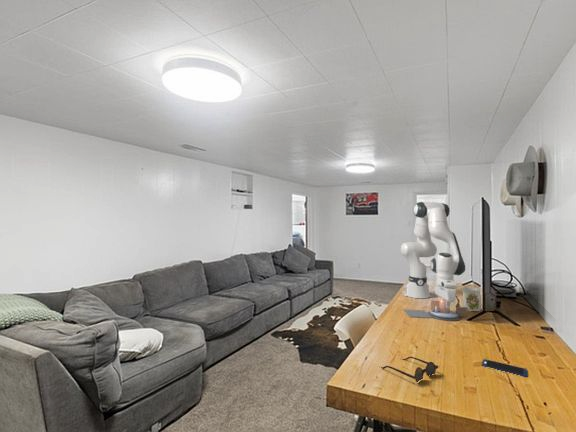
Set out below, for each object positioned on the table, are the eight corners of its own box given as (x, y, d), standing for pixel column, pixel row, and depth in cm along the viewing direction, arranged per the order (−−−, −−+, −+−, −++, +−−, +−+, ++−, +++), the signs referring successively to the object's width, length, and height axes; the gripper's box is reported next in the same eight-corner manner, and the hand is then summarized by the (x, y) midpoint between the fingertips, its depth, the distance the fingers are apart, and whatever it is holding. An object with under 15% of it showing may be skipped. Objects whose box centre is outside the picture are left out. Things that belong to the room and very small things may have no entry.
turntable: (435, 317, 177) (436, 308, 177) (426, 310, 191) (426, 302, 191) (472, 319, 175) (472, 310, 175) (460, 312, 189) (461, 303, 189)
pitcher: (492, 315, 187) (493, 292, 187) (457, 310, 196) (458, 288, 196) (491, 311, 196) (491, 288, 196) (458, 306, 205) (458, 285, 205)
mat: (403, 310, 194) (403, 309, 194) (423, 311, 193) (423, 310, 193) (410, 317, 180) (410, 316, 180) (432, 318, 179) (432, 317, 179)
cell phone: (483, 360, 127) (483, 358, 127) (527, 371, 118) (527, 369, 118) (481, 367, 121) (481, 365, 121) (527, 378, 112) (527, 376, 112)
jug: (428, 309, 187) (428, 296, 187) (448, 310, 186) (449, 297, 186) (432, 312, 181) (432, 298, 181) (453, 313, 180) (453, 299, 180)
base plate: (423, 311, 192) (423, 310, 192) (452, 312, 191) (452, 311, 191) (433, 320, 175) (433, 319, 175) (466, 321, 174) (466, 320, 174)
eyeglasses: (414, 386, 105) (414, 371, 105) (377, 368, 117) (377, 355, 117) (438, 374, 114) (438, 360, 114) (401, 359, 126) (401, 346, 126)
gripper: (432, 278, 194) (431, 301, 194) (446, 285, 173) (445, 310, 173) (443, 278, 193) (442, 301, 193) (458, 285, 173) (457, 311, 173)
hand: (444, 306), depth 183 cm, fingers open, 7 cm apart
